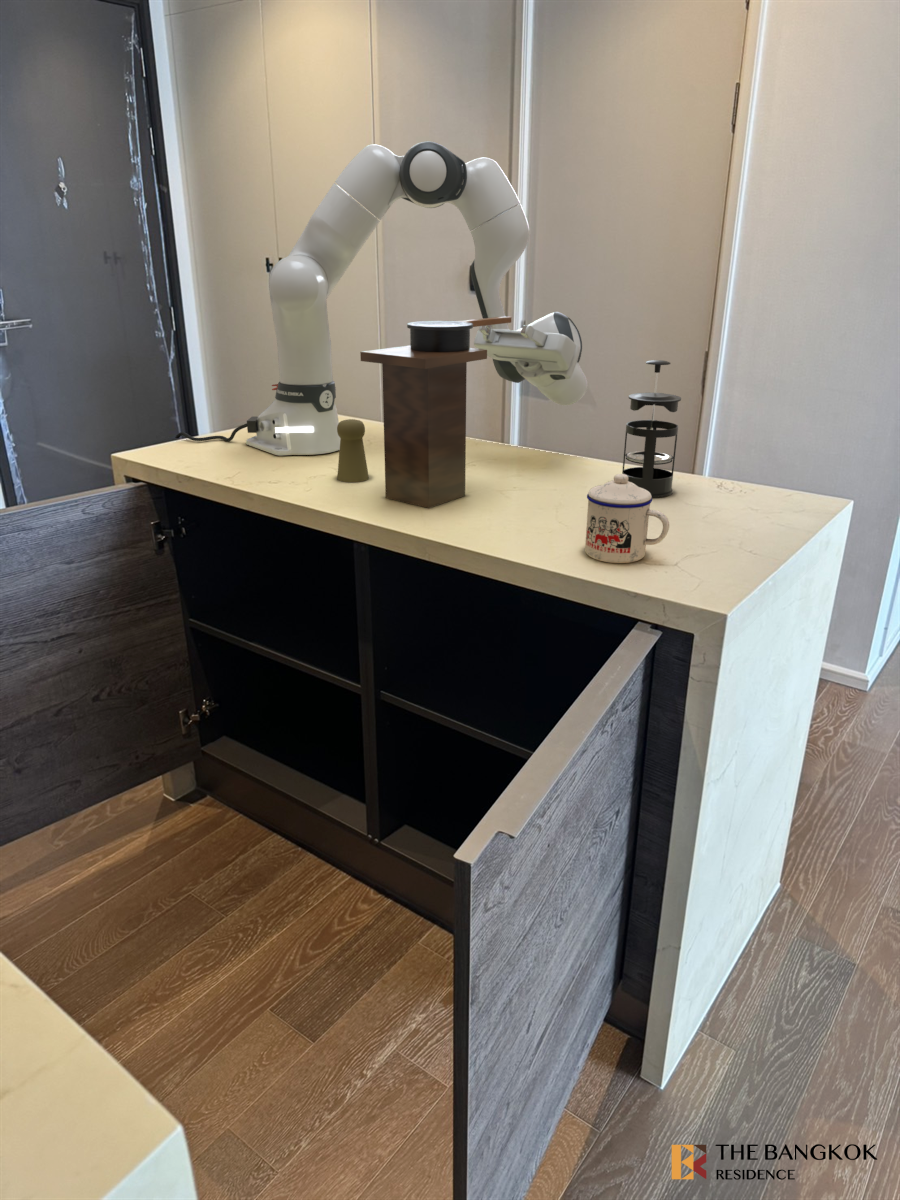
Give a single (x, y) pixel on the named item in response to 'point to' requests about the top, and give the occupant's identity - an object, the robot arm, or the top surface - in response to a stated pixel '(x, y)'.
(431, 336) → the saucepan
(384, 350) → the stand
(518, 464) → the top surface
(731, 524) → the top surface
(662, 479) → the french press
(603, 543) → the teacup with lid
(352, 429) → the cork
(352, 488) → the top surface
